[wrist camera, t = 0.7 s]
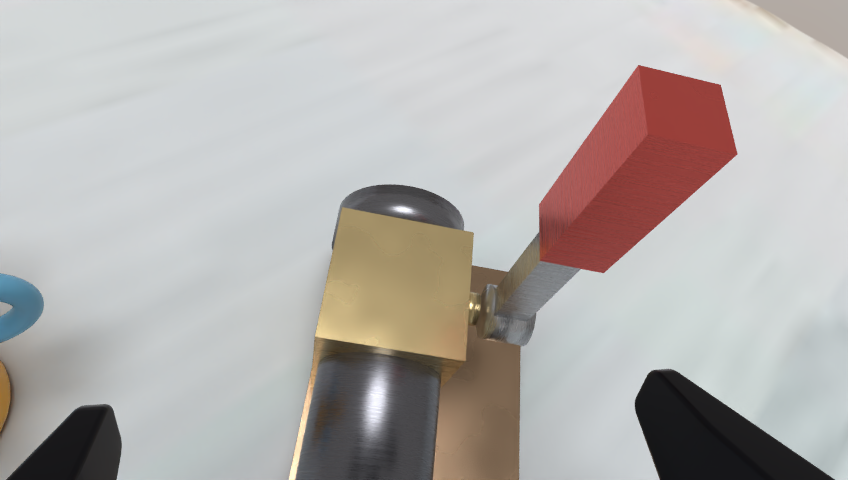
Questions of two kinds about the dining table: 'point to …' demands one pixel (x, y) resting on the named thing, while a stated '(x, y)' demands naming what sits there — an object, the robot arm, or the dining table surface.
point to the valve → (407, 352)
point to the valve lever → (614, 192)
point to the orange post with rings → (15, 324)
